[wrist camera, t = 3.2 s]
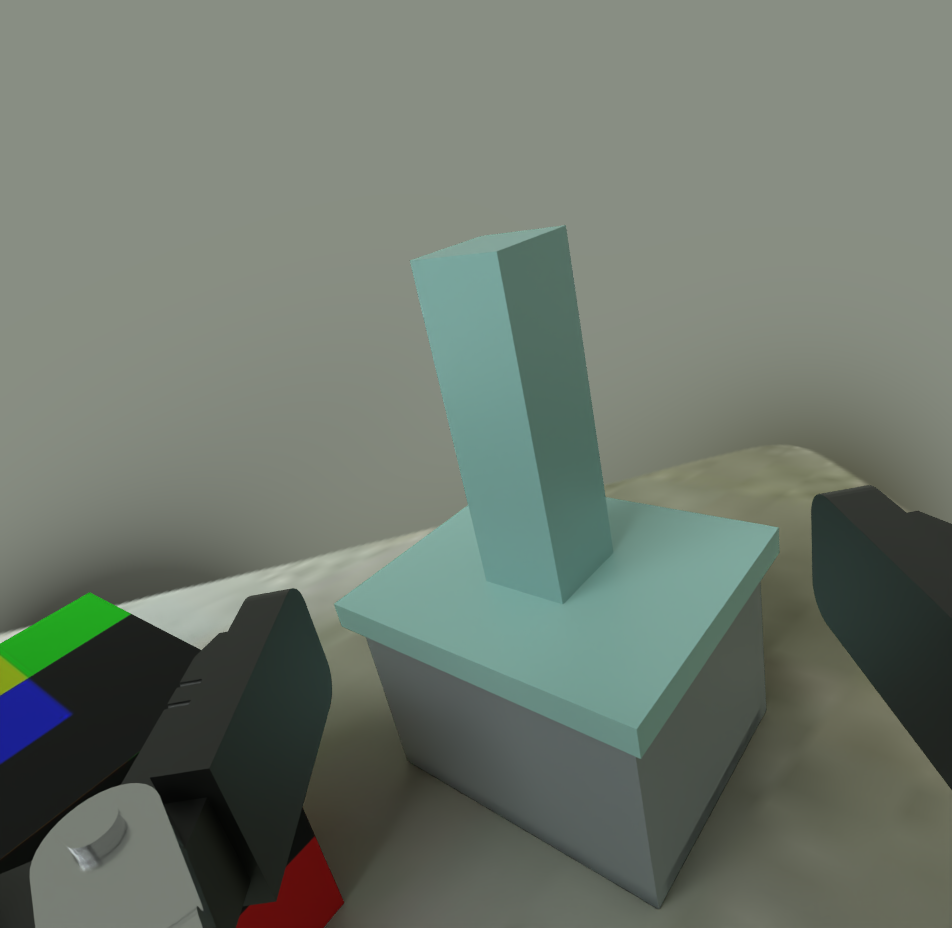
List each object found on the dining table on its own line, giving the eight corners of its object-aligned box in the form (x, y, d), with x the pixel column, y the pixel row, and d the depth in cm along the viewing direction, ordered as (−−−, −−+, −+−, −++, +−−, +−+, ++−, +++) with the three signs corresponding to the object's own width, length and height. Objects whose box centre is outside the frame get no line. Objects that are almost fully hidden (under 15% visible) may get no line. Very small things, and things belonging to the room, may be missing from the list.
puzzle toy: (34, 1273, 16) (-227, 1033, 12) (-80, 1016, 22) (-276, 801, 18) (344, 903, 23) (242, 671, 19) (190, 785, 29) (89, 592, 25)
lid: (341, 626, 25) (226, 299, 20) (507, 498, 31) (450, 228, 27) (641, 759, 17) (569, 275, 12) (779, 552, 23) (767, 182, 19)
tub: (407, 760, 28) (360, 622, 25) (535, 630, 33) (509, 505, 31) (658, 909, 20) (632, 737, 18) (766, 709, 26) (759, 556, 23)
